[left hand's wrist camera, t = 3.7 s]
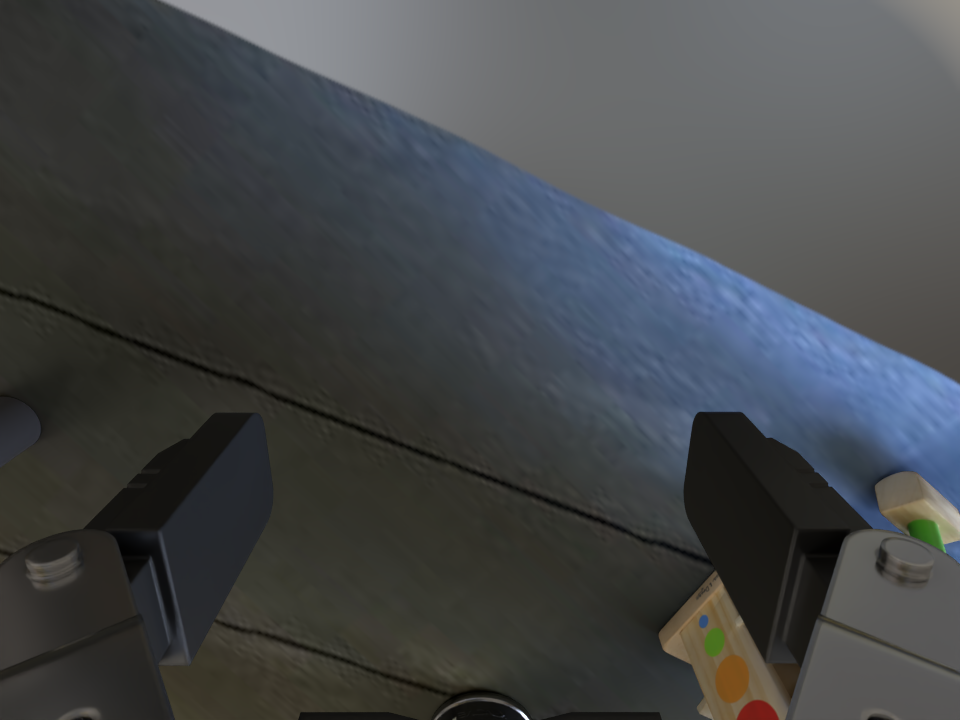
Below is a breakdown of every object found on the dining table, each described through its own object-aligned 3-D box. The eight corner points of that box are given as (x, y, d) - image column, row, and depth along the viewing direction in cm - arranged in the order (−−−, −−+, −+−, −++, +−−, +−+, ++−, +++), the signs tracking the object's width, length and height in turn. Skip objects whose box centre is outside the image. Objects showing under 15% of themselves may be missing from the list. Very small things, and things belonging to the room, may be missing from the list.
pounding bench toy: (844, 425, 44) (1071, 610, 27) (983, 511, 46) (1269, 727, 29) (653, 636, 51) (739, 886, 34) (784, 699, 53) (923, 961, 36)
